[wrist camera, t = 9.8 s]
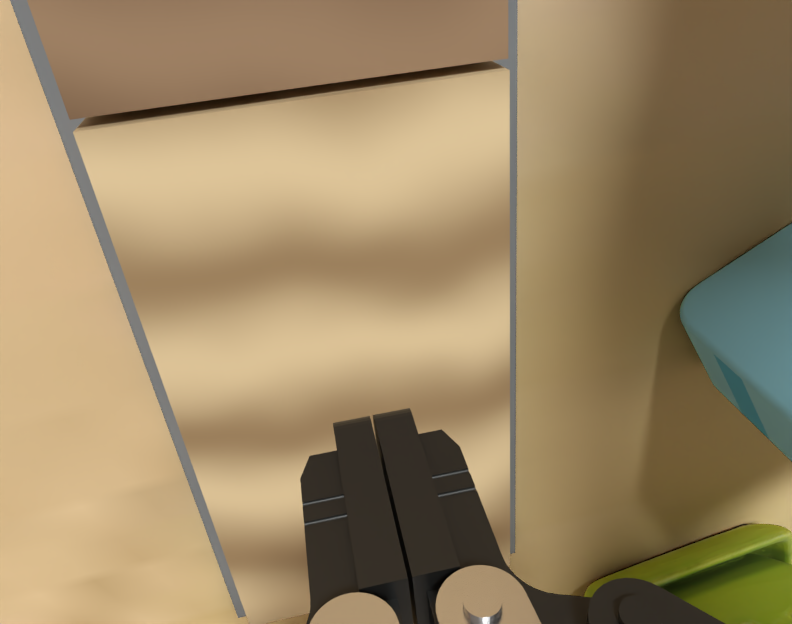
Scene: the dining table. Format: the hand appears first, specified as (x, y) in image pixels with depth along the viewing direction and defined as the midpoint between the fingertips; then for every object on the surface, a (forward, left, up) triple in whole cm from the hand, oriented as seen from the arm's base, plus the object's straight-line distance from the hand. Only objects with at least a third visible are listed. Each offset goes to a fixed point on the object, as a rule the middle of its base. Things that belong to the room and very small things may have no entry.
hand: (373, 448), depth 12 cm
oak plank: (+6, 0, -11) cm, 13 cm away
